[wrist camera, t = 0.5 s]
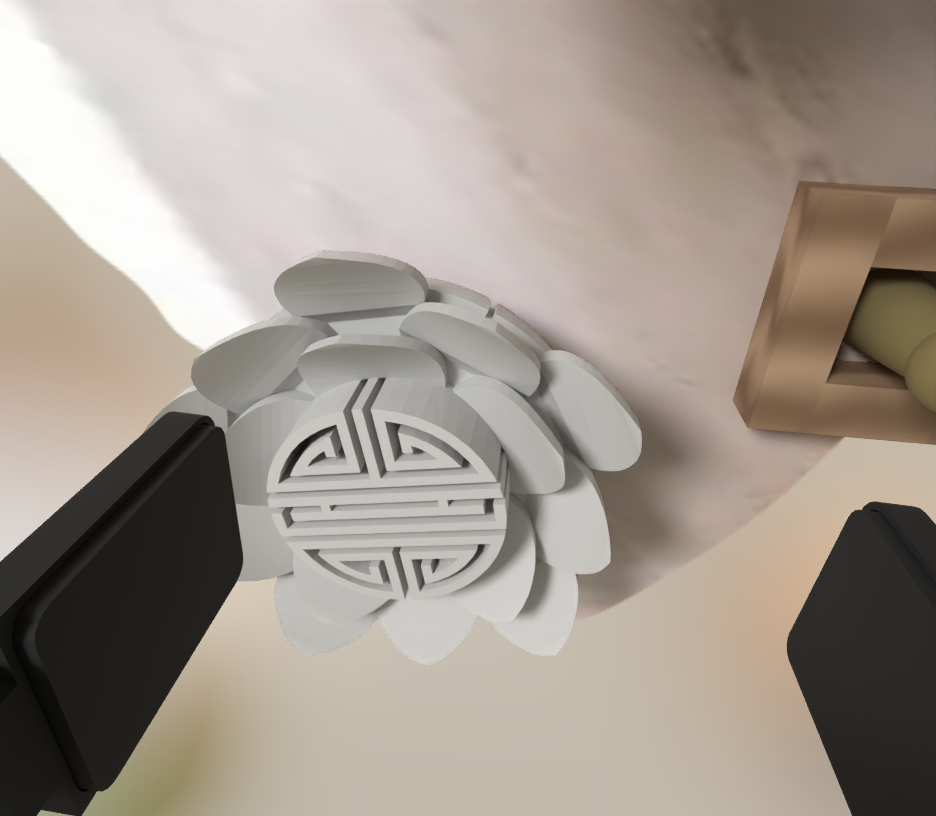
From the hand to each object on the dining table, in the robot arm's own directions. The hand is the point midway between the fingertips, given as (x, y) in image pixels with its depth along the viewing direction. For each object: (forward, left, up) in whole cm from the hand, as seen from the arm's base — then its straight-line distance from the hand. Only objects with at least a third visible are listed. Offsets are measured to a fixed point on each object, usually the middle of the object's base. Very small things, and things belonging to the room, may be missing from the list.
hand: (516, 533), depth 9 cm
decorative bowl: (+17, -8, -35) cm, 40 cm away
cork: (+8, +24, -35) cm, 43 cm away
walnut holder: (+8, +24, -35) cm, 43 cm away
